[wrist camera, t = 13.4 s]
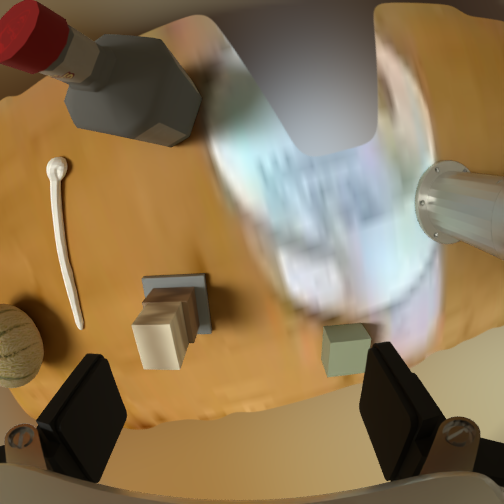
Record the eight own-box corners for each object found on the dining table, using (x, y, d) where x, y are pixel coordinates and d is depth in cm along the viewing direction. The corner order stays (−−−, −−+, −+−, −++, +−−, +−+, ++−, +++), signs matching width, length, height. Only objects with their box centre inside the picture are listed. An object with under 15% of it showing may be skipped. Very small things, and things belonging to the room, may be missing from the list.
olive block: (360, 322, 45) (371, 338, 40) (356, 354, 47) (365, 372, 42) (323, 325, 45) (330, 343, 41) (321, 358, 47) (327, 377, 42)
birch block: (181, 301, 38) (169, 324, 32) (189, 343, 39) (179, 369, 33) (147, 302, 38) (131, 324, 32) (156, 343, 39) (143, 369, 34)
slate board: (204, 273, 43) (203, 275, 42) (212, 330, 45) (211, 333, 44) (143, 276, 43) (141, 278, 42) (154, 331, 46) (152, 334, 45)
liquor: (186, 151, 39) (42, 124, 10) (125, 136, 38) (-56, 113, 9) (207, 86, 36) (121, -53, 8) (145, 74, 36) (1, -27, 7)
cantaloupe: (68, 362, 48) (28, 411, 33) (19, 359, 49) (-20, 399, 34) (39, 288, 44) (-15, 326, 30) (-7, 294, 45) (-56, 326, 30)
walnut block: (194, 286, 43) (187, 301, 38) (199, 325, 44) (194, 343, 39) (153, 288, 43) (142, 302, 38) (160, 325, 44) (151, 342, 39)
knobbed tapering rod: (98, 328, 46) (90, 337, 44) (78, 327, 46) (70, 335, 44) (71, 154, 39) (60, 154, 36) (50, 159, 39) (40, 159, 36)
